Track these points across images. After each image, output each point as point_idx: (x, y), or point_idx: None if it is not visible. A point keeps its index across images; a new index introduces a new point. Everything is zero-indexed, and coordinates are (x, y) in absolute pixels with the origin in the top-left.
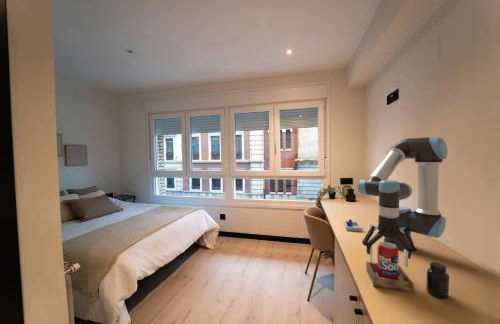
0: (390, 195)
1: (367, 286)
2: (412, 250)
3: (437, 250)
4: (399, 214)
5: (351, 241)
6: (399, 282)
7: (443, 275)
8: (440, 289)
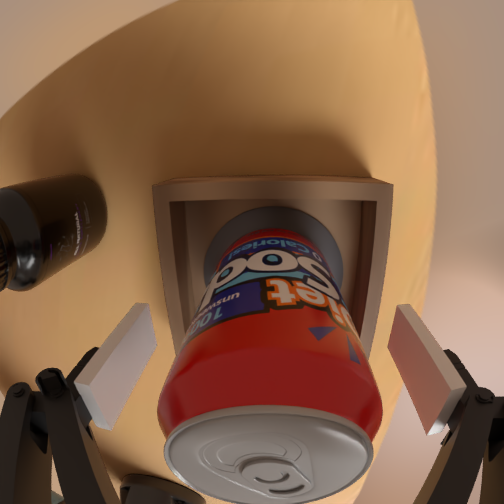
0: None
1: (403, 175)
2: (41, 394)
3: None
4: None
5: (320, 500)
6: (232, 180)
7: None
8: (48, 178)
